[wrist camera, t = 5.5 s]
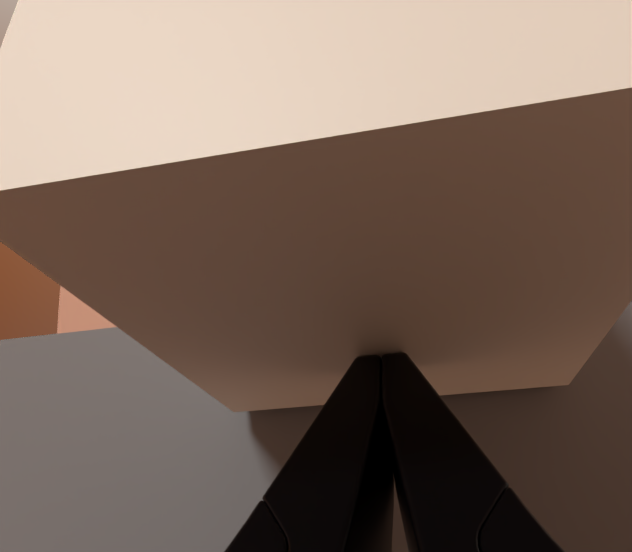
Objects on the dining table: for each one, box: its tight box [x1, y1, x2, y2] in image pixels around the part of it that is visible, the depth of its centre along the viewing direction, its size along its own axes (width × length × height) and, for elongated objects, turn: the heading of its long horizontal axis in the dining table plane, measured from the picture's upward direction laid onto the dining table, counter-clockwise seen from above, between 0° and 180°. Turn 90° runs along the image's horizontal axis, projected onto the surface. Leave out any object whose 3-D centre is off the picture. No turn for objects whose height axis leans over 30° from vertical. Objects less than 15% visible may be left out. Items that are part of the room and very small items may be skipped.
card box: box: [0, 0, 632, 412], centre depth 9 cm, size 4×7×8 cm, turn 93°
